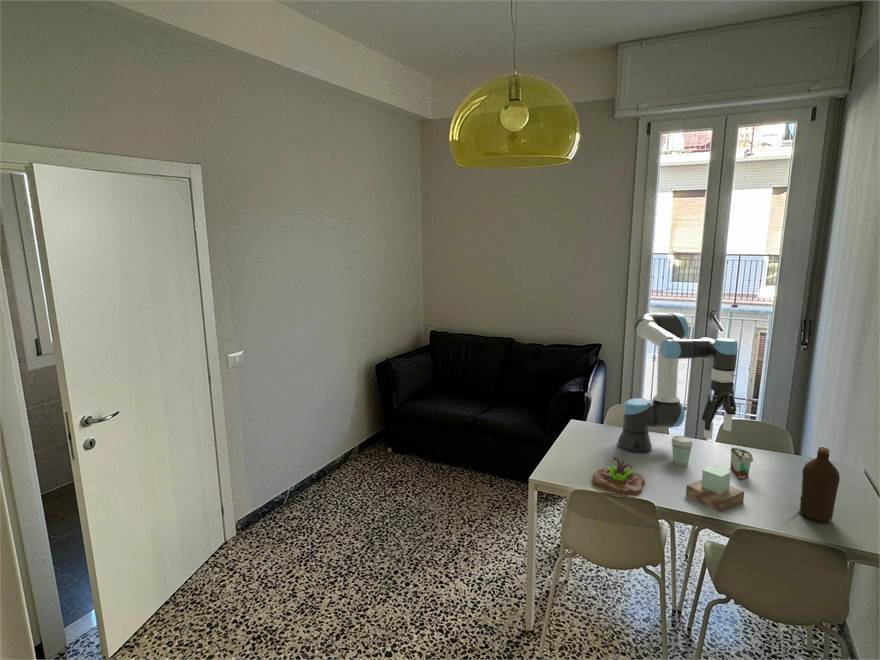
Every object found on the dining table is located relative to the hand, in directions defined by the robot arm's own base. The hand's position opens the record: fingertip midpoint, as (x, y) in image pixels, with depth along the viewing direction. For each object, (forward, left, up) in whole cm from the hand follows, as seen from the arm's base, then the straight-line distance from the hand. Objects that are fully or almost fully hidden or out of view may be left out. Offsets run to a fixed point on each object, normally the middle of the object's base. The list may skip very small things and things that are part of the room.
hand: (717, 434), depth 191 cm
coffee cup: (-23, +17, -26) cm, 39 cm away
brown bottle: (+28, +17, -26) cm, 42 cm away
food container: (-2, +28, -26) cm, 38 cm away
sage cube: (+2, -2, -21) cm, 21 cm away
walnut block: (+2, -2, -26) cm, 26 cm away
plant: (-28, -20, -26) cm, 43 cm away
